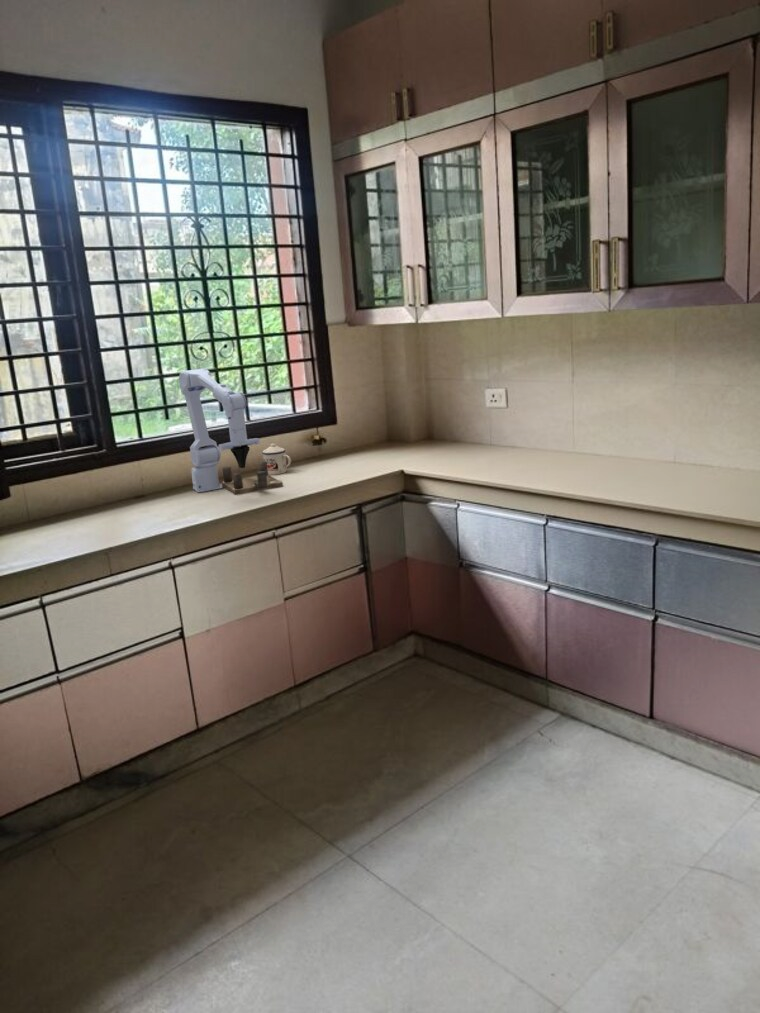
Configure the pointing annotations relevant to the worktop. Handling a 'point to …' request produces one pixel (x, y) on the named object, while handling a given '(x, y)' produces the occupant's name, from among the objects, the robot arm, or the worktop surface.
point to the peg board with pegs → (247, 481)
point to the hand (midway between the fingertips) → (242, 467)
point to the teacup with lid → (276, 460)
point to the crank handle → (261, 480)
